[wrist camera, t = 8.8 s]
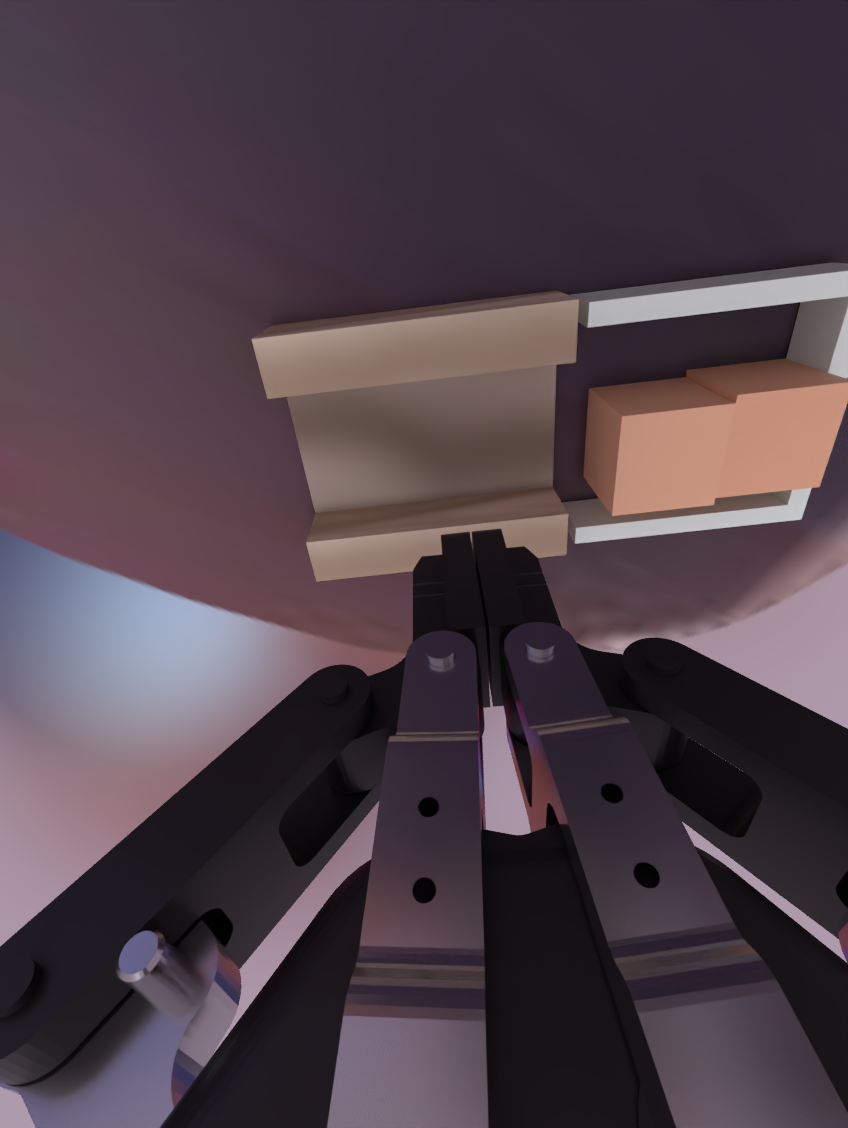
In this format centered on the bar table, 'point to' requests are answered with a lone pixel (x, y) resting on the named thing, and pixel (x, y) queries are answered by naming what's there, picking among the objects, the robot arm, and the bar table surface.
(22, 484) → the bar table surface
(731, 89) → the bar table surface
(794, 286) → the grey u-shaped frame
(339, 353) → the slot track
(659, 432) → the pink cube
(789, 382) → the salmon cube
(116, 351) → the bar table surface
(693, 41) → the bar table surface
